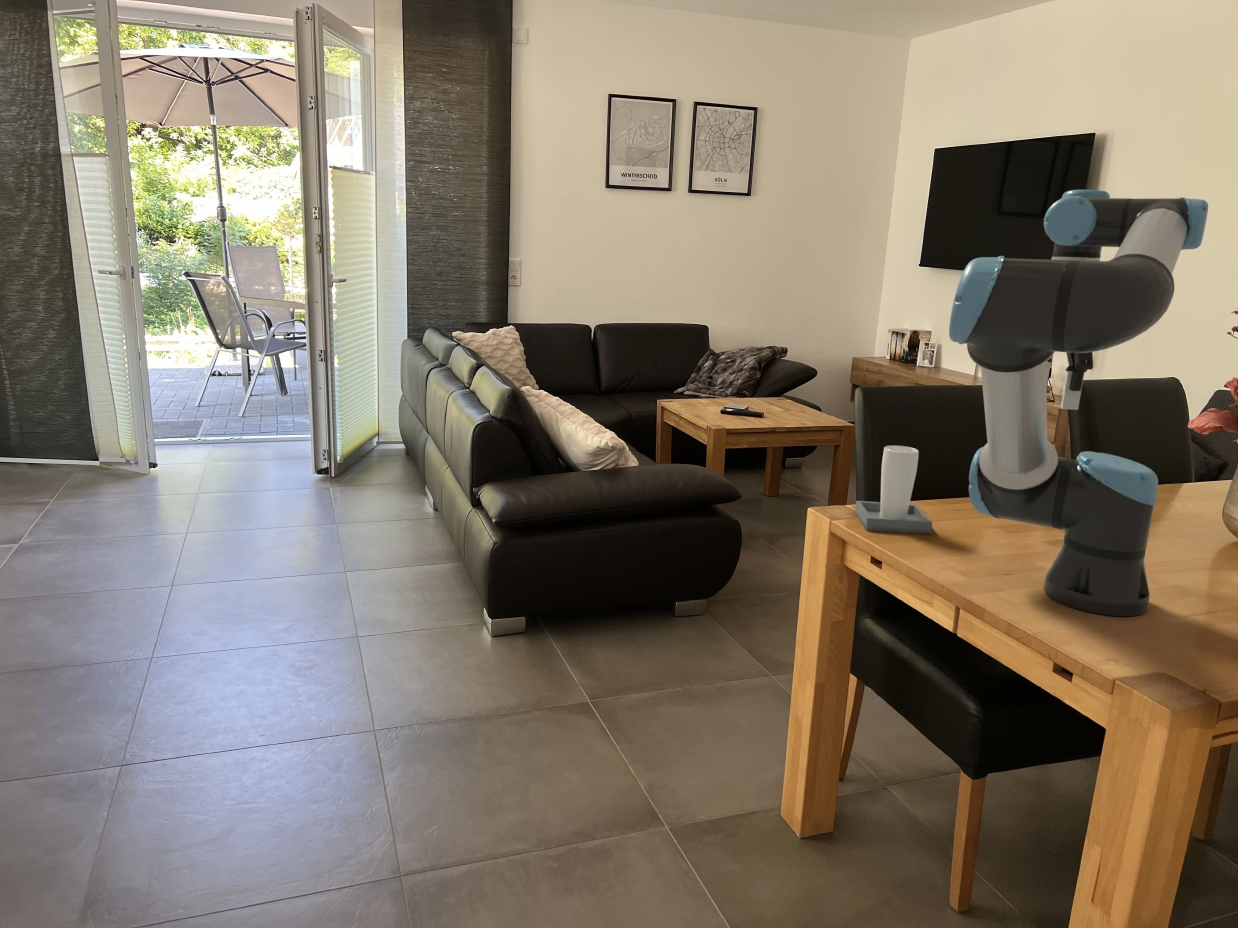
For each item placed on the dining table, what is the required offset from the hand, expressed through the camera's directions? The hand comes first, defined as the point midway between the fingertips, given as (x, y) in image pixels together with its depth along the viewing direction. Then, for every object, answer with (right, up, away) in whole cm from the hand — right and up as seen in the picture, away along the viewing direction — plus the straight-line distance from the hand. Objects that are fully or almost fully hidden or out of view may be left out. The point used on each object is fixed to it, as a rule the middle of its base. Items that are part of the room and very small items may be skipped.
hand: (1052, 403), depth 159 cm
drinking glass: (-23, -23, +20) cm, 38 cm away
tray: (-22, -23, +22) cm, 39 cm away
